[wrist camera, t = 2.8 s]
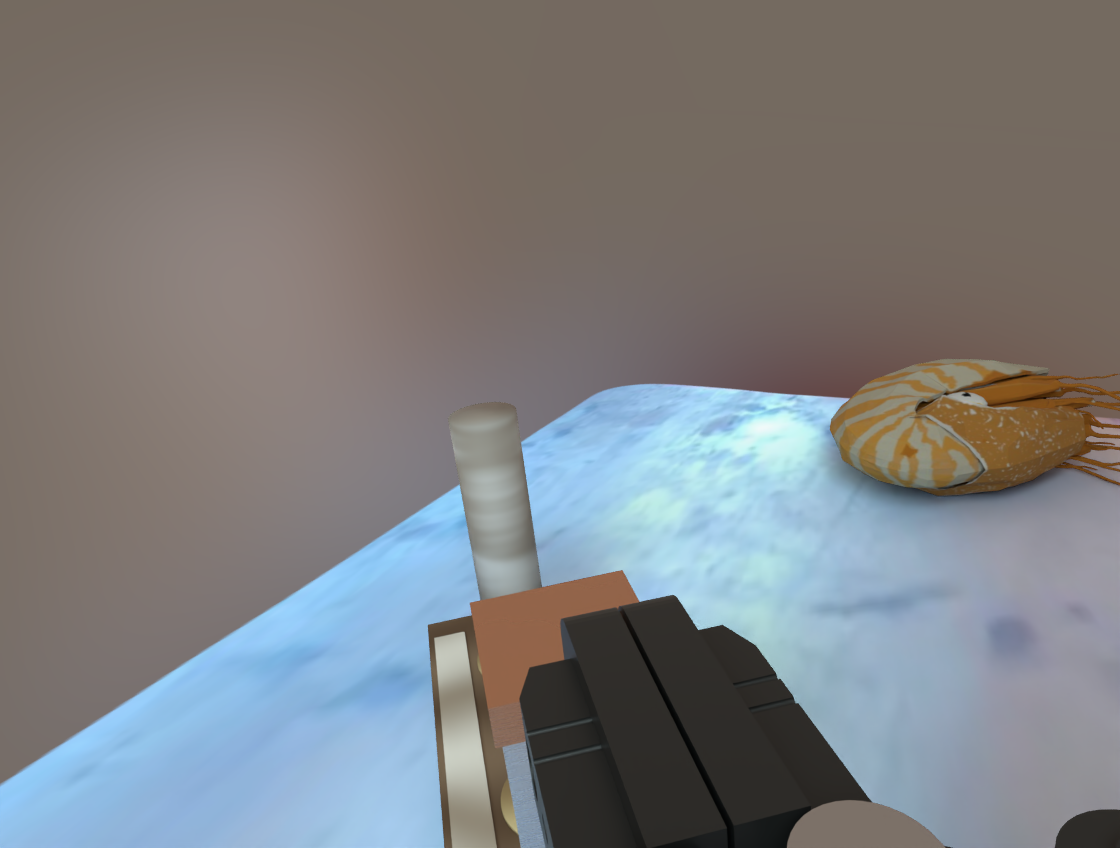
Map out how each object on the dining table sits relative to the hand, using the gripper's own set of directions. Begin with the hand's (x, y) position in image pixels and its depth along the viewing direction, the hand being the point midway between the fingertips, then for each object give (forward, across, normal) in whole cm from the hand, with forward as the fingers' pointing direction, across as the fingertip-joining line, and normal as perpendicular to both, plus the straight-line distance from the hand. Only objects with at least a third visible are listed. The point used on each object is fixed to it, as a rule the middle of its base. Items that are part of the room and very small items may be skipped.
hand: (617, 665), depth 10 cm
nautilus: (+34, -35, +19) cm, 52 cm away
